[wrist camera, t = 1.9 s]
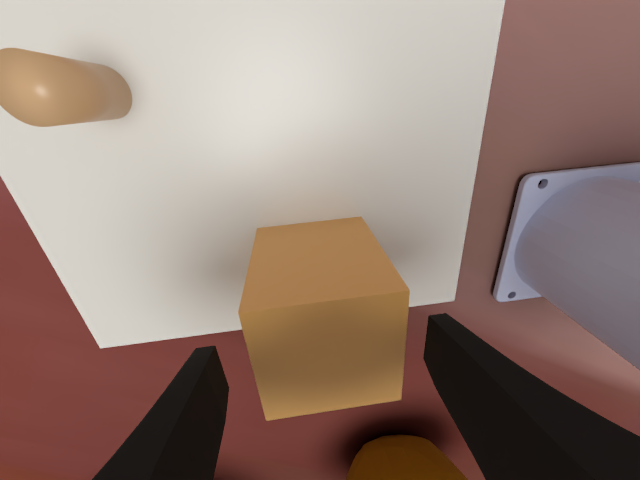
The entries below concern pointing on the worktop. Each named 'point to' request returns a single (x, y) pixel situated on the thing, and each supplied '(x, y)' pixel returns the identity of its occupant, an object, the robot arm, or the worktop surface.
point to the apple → (402, 460)
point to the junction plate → (237, 142)
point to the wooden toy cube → (323, 318)
